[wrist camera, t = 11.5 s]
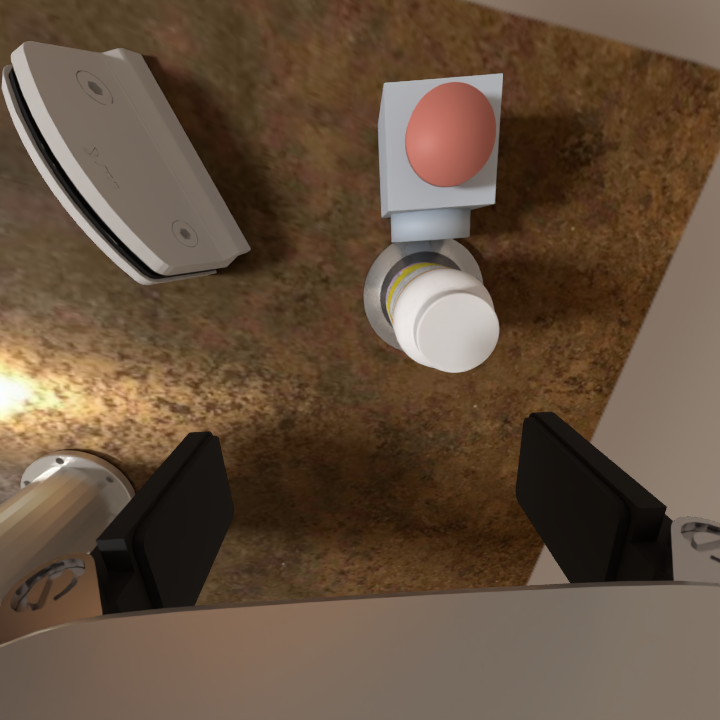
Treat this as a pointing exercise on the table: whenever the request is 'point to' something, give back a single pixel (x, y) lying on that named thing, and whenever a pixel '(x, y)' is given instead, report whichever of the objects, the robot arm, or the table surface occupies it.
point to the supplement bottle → (442, 317)
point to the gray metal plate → (398, 259)
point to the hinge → (120, 161)
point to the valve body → (438, 154)
